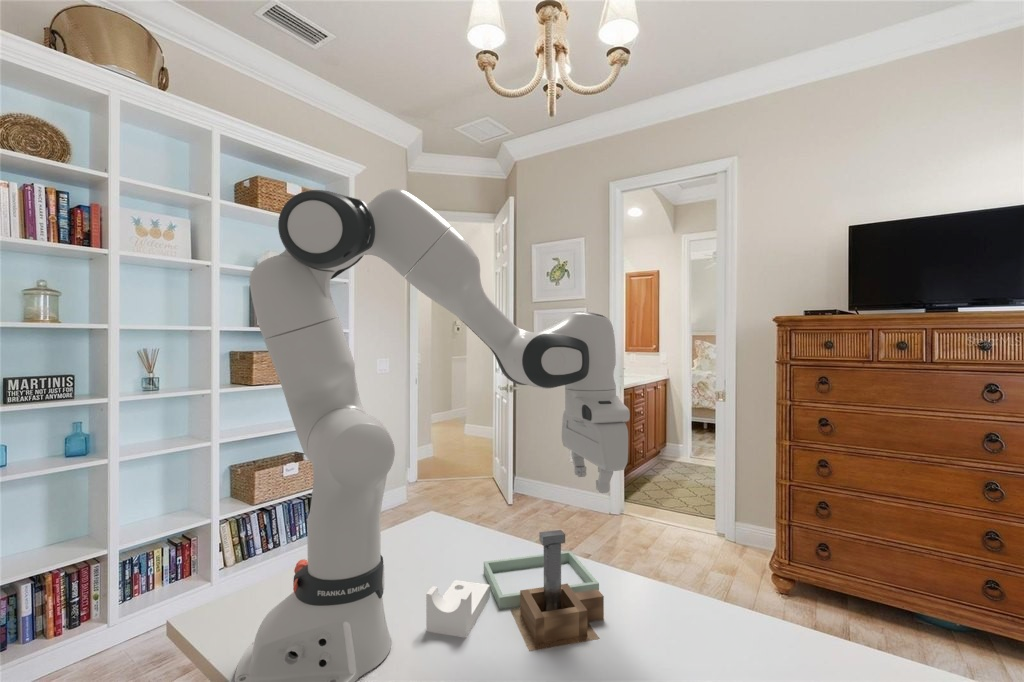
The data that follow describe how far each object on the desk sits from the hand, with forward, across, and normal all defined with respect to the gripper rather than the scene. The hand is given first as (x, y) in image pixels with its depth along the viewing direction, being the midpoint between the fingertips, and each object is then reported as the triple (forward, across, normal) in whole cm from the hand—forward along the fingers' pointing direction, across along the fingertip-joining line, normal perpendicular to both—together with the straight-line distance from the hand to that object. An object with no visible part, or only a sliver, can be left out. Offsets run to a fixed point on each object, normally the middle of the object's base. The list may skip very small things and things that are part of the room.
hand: (590, 483), depth 84 cm
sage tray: (+24, -14, -5) cm, 29 cm away
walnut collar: (+24, 0, -5) cm, 24 cm away
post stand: (+24, 0, -7) cm, 26 cm away
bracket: (+25, -7, -22) cm, 34 cm away
